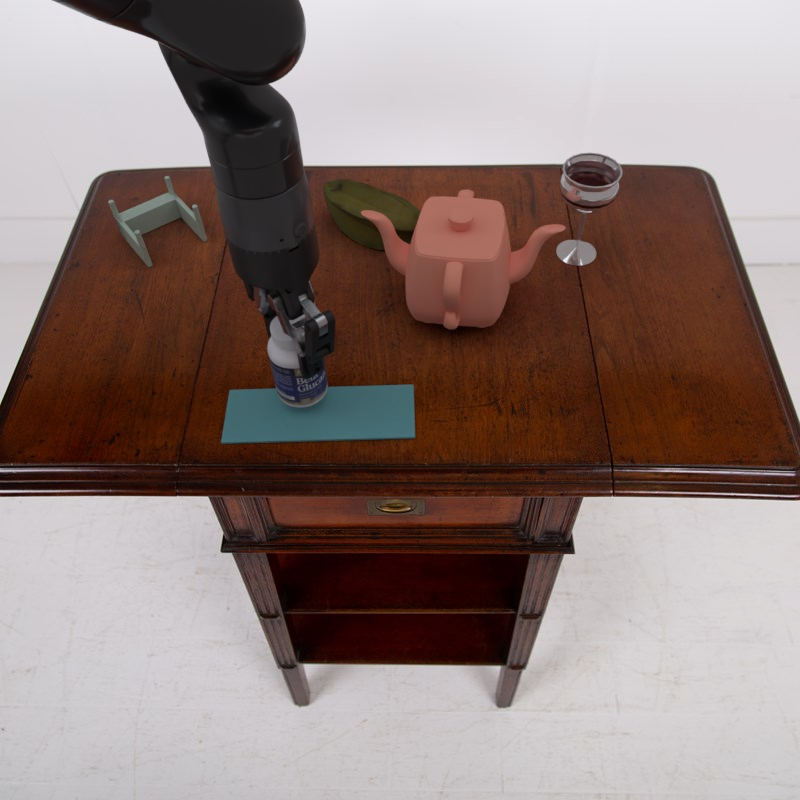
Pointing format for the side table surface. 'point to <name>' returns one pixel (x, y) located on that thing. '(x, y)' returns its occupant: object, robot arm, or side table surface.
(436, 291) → the teapot
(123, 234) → the rack
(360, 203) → the fruit
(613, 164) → the wineglass
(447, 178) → the side table surface
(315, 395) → the pill bottle
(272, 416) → the strip
